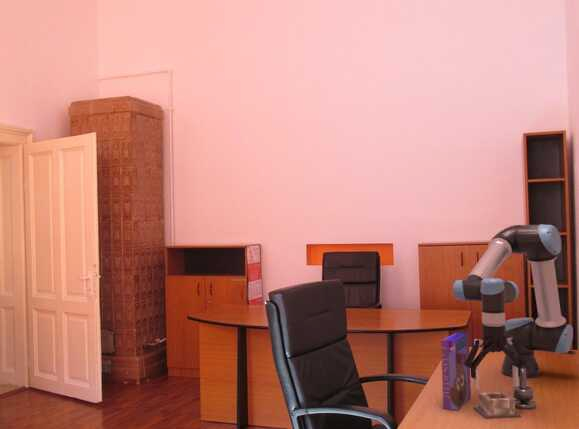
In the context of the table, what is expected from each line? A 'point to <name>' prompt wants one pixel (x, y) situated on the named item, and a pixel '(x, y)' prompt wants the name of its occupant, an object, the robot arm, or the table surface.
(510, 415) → the rubber mat
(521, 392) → the steel stand
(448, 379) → the cereal box
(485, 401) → the square frame
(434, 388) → the table surface
